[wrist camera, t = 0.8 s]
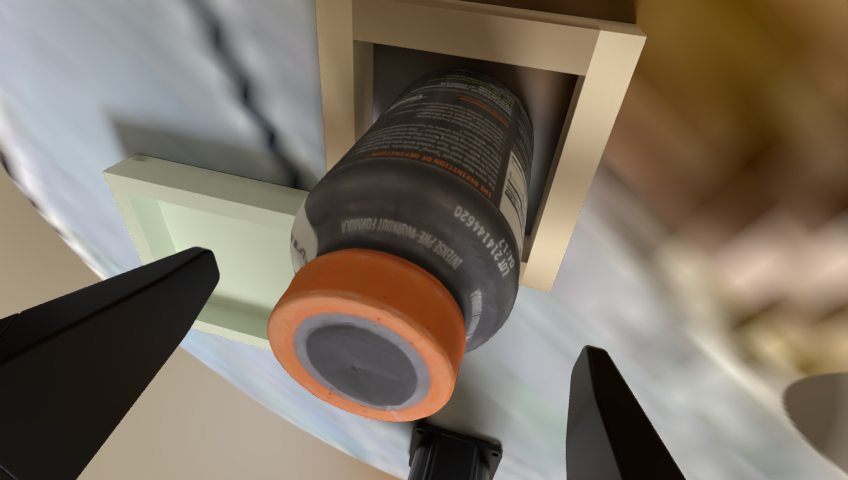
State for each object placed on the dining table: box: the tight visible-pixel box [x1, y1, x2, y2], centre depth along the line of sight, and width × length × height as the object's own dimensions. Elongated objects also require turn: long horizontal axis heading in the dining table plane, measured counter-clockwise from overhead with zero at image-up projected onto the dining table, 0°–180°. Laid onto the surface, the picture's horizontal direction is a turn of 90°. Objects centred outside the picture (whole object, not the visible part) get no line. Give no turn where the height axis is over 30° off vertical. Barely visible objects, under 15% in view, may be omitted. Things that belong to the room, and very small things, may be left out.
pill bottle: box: [267, 68, 534, 422], centre depth 12 cm, size 6×6×11 cm
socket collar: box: [315, 0, 647, 292], centre depth 16 cm, size 10×10×2 cm
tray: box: [102, 154, 310, 351], centre depth 24 cm, size 11×11×2 cm
